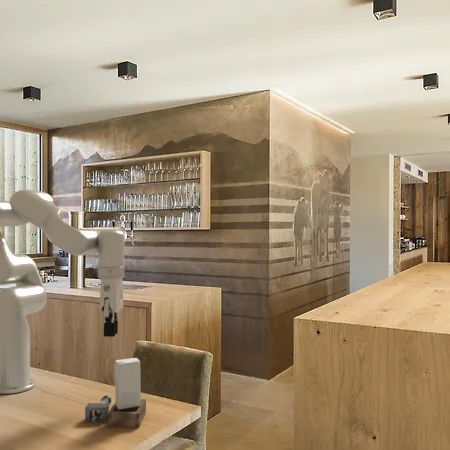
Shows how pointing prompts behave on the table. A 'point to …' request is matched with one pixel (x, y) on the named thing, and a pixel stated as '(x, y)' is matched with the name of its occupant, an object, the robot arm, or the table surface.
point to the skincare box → (127, 383)
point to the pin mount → (96, 407)
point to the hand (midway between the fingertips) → (110, 334)
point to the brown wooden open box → (127, 416)
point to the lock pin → (104, 400)
